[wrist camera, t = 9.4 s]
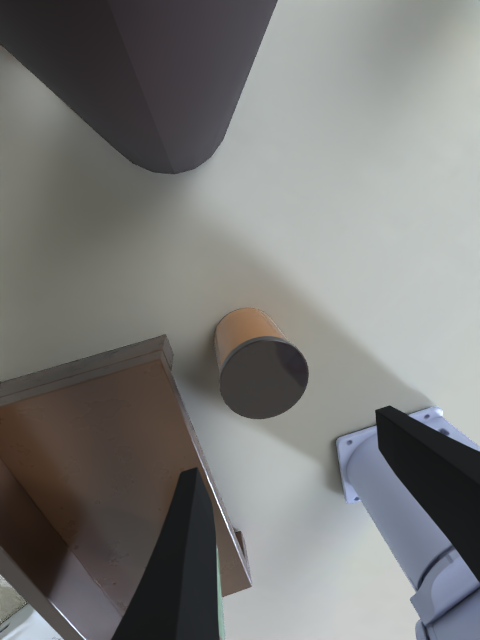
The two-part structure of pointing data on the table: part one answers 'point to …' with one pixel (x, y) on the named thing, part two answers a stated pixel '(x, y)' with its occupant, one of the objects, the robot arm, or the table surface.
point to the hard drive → (27, 626)
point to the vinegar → (143, 68)
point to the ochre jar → (258, 365)
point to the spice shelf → (97, 485)
